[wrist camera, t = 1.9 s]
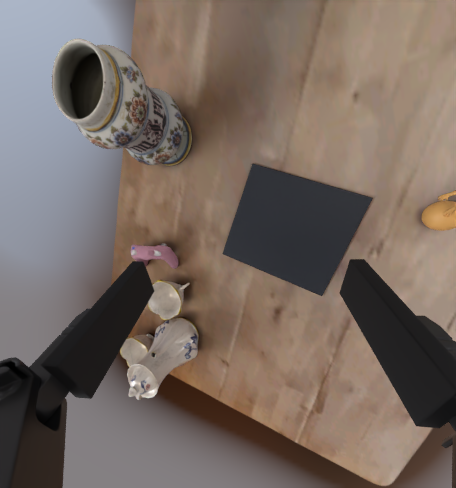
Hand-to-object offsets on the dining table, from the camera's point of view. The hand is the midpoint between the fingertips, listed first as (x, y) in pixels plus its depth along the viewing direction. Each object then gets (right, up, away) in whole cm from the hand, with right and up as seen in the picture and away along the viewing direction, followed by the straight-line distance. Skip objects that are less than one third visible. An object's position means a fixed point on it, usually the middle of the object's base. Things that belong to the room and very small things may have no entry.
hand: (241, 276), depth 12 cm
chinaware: (-14, -18, +33) cm, 40 cm away
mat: (+10, +5, +21) cm, 24 cm away
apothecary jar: (-12, +23, +26) cm, 37 cm away
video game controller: (-16, 0, +31) cm, 35 cm away
